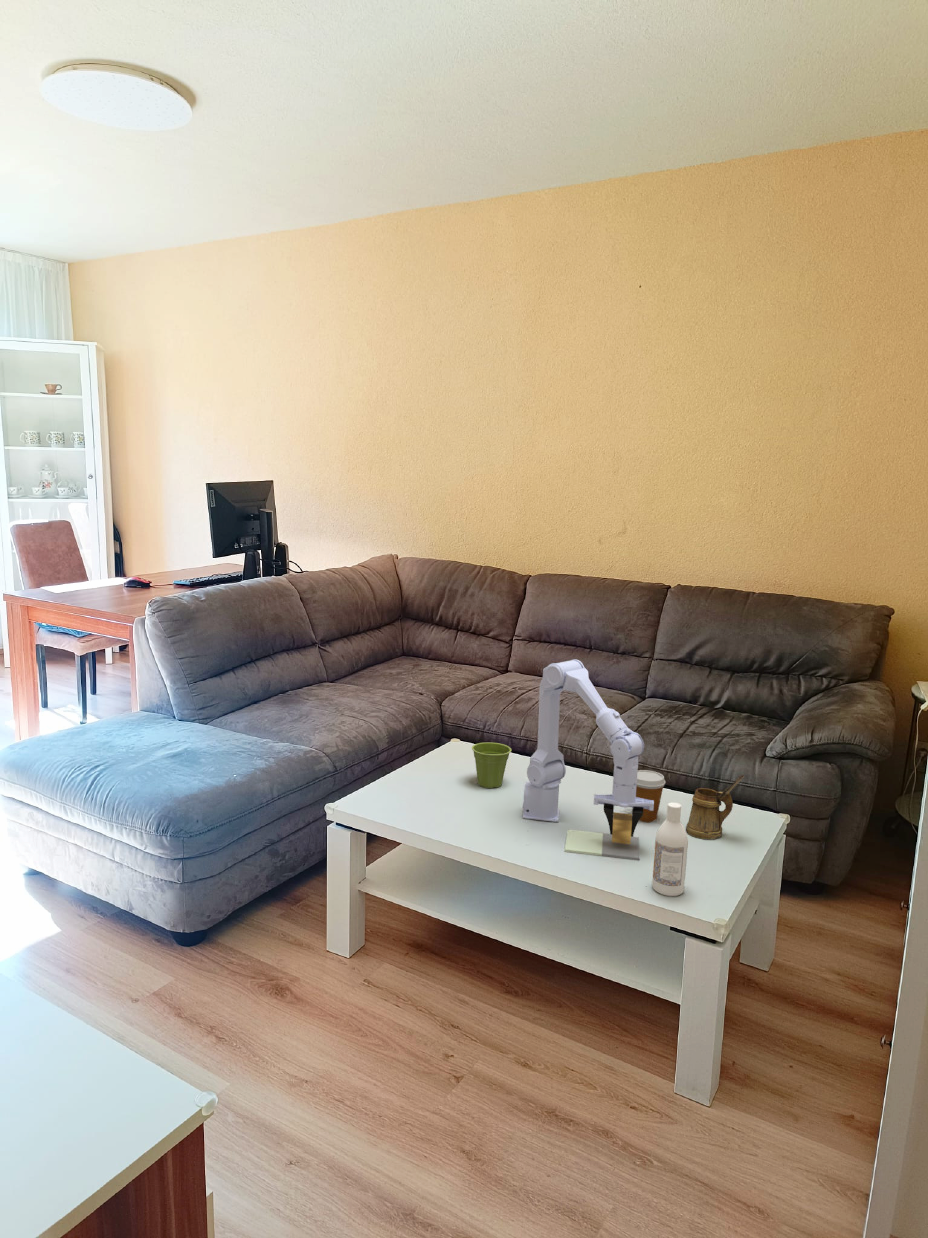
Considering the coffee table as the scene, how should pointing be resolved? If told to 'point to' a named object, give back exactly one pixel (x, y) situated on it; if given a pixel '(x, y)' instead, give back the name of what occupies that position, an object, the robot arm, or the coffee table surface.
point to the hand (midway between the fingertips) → (621, 834)
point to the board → (600, 845)
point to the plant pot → (490, 763)
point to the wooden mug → (709, 812)
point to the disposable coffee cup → (649, 791)
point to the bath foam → (670, 854)
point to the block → (622, 828)
